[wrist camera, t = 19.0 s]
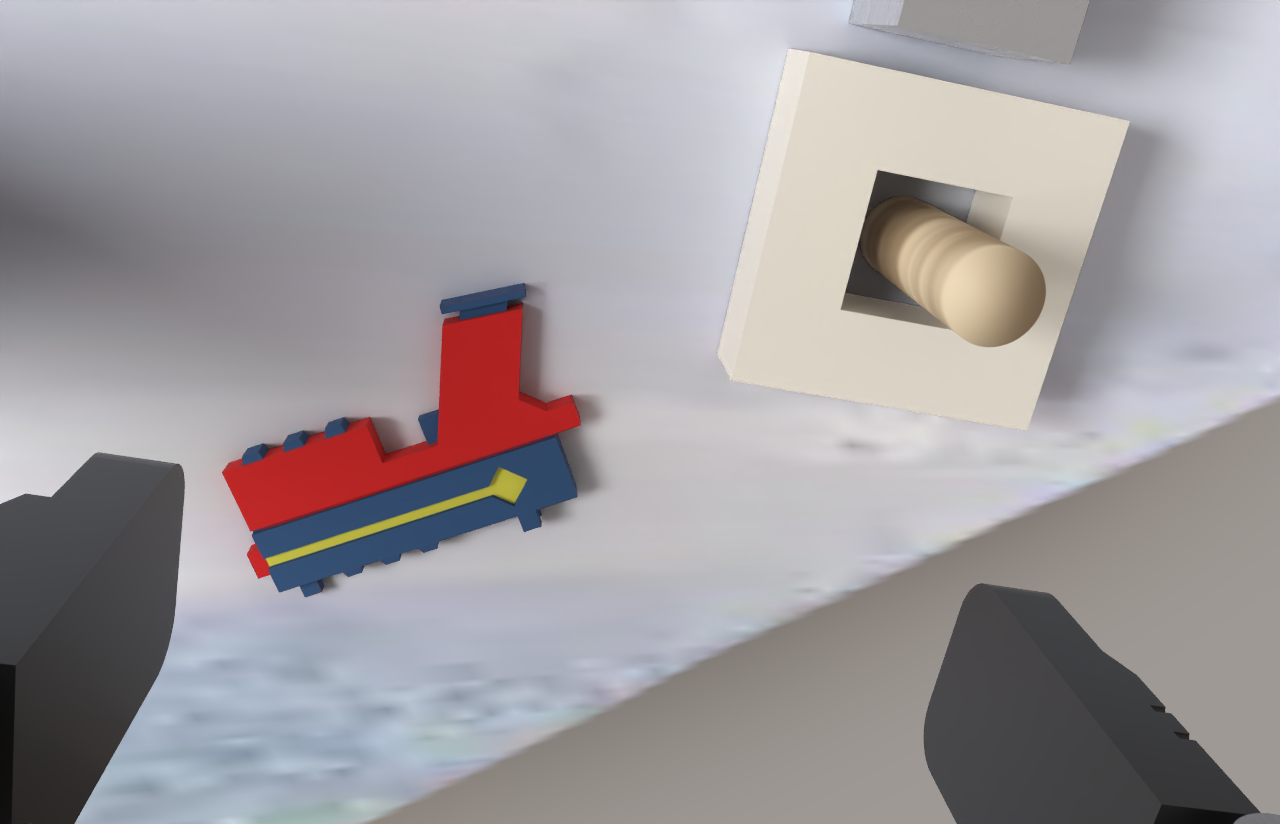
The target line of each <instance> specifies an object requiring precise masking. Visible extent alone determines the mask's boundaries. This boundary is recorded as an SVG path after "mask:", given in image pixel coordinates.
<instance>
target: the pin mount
mask: <svg viewBox="0 0 1280 824" xmlns="http://www.w3.org/2000/svg"><path fill="white" fill-rule="evenodd" d="M1089 2H1090V0H854V4H853V8H852V12H851V16H850V20H849V24H854V25H859V26H863V27H868V28H872V29H877V30H881V31H886V32H890V33H895V34H899V35H904V36H908V37H913V38H917V39H922V40H926V41H931V42H935V43H940V44H944V45H949V46H953V47H958V48H962V49H967V50H971V51H976V52H981V53H985V54H990V55H994V56H999V57H1007V58H1017V59H1026V60H1035V61H1045V62H1054V63H1064V64H1070V63H1071V60H1072V57H1073V53H1074V50H1075V47H1076V44H1077V41H1078V37H1079V34H1080V31H1081V28H1082V24H1083V21H1084V18H1085V15H1086V12H1087V8H1088V5H1089Z"/></svg>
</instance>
